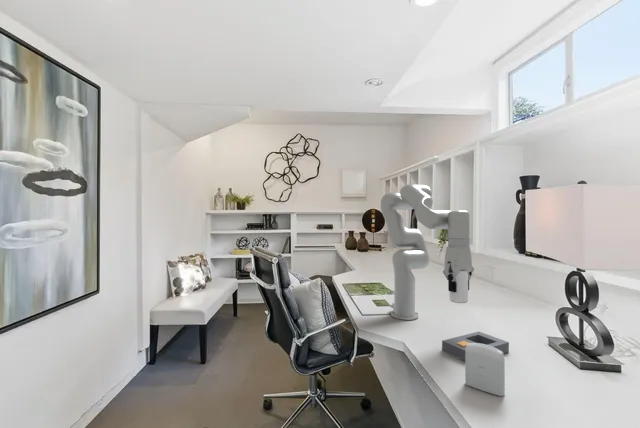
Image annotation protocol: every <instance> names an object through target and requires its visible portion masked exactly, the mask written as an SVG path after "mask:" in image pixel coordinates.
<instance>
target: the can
mask: <svg viewBox="0 0 640 428" xmlns="http://www.w3.org/2000/svg"><path fill="white" fill-rule="evenodd" d="M452 272H453V271H452ZM451 276H452V277H453V274H451ZM455 281H456V292H451V291H449V301H450V302H452V303H456V304H466V303H468V302H469V290H468V273H467V270H464V271H460V273H458V274H457V275H456V279H455Z"/></svg>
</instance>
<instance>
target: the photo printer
mask: <svg viewBox="0 0 640 428" xmlns="http://www.w3.org/2000/svg"><path fill="white" fill-rule="evenodd" d="M464 362H465V363H464V364H465V365H464V369H465V379H464V380H465V381H464V382H465V385H466V386H469V387H472V388H473V389H474V388H475V389H477V390H480V391H482V392H483V391H484V392H486V393H489V394H493V395H496V396H499V397H502V396H504V395H505V390H506V388H505V387H506V386H505V385H506V384H505V377H506V376H505V375H506V374H505V373H506V372H505V367H506V366H505V365H506V363H505V353H503V352H502V351H500V350H498V349H496V348H494V347H492V346H489V345H486V344H481V343H468V344H467V346H466V350H465V361H464Z"/></svg>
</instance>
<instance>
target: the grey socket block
mask: <svg viewBox="0 0 640 428" xmlns="http://www.w3.org/2000/svg"><path fill="white" fill-rule="evenodd" d="M468 343H481V344H486V345H489V346H492V347H494V348H496V349H498V350H500V351H502V352H503V353H504V354H506V353H509V352H510V342H509V341H507V340H504V339H501V338H498V337H495V336H492V335H491V334H487V333H484V332H481V331H475V332H472V333H471V332H470V333H467V334H463V335H459V336H455V337H451V338H447V339H443V340H441V350H442V352H445V353H447V354H450V355H451V356H453V357H455V358H456V359H457V358H458V359H460V360H462V361H464V362H465V350H466V346H467V344H468Z"/></svg>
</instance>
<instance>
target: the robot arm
mask: <svg viewBox="0 0 640 428" xmlns="http://www.w3.org/2000/svg"><path fill="white" fill-rule="evenodd" d="M430 188H431V187H429V186H428V185H425V184H410V183H409V184H406V185H404V186H402V187H401V189H400V190H399V192H387V193H385V194H383V195H382V198H381V200H380V210H381V214H382V217H383V218H384V220H385V222H386V225H387V227H386V228H387V232H388V234H389V238H390V243H391V244H392V246H393V247H394V248H396V249H399V250H397V251H395V252H394V253H393V254H392V265H393V271H394V290H393V291H394V299H393V300H394V302H393V303H392V304H391V305H390V308H392V311H390V316H391V317H393V318H394V319H396V320H402V321H404V320H405V321H412V320H417V319H419V313H417V312H416V278H415V275H414V273H413V272H412V270H420V269H421V270H423V269H425V268H427V267H428V266H429V263H430V256H429V253H428V249H427V246H426V241H425V238H424V235H423V234H422V232H421V230H419V229H418V228H413V227H407V226H406V224H405V220H404V218H403V216H402V215H401V214H400V213H399V212H398V211H397V210H399V211H400V210H401V211H402V210H405V211H406V210H408V211H410V210H414V215H415V219H416V220H417V221H418V222H419V223H420V224H421V225H422V226H424V227H425V228H426V229H429V230H447V247H446V248H445V255H444V265H443V266H444V269H443V271H442V274H443V275H444V276H445V278H446V280H447V281H448V292H450V291H451V292H456V281H455V279H456V275H457V274H458V273H460V271H464V270H467V273H468V291H469V290H470V280H471V276H472V275H473V273H474V270H475V268H474V267H473V265H472V264H473V263H472V262H473V261H472V252H471V247H470V244H471V243H470V242H471V241H470V213H469V211H467V210H459V209H458V210H452V209H451V210H450V209H448V210H447V209H445V210H444V209H431V208H432V207H433V203H434V201H433V198H432V189H430ZM452 271H453V272H452ZM451 274H453V277H452V276H451Z"/></svg>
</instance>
